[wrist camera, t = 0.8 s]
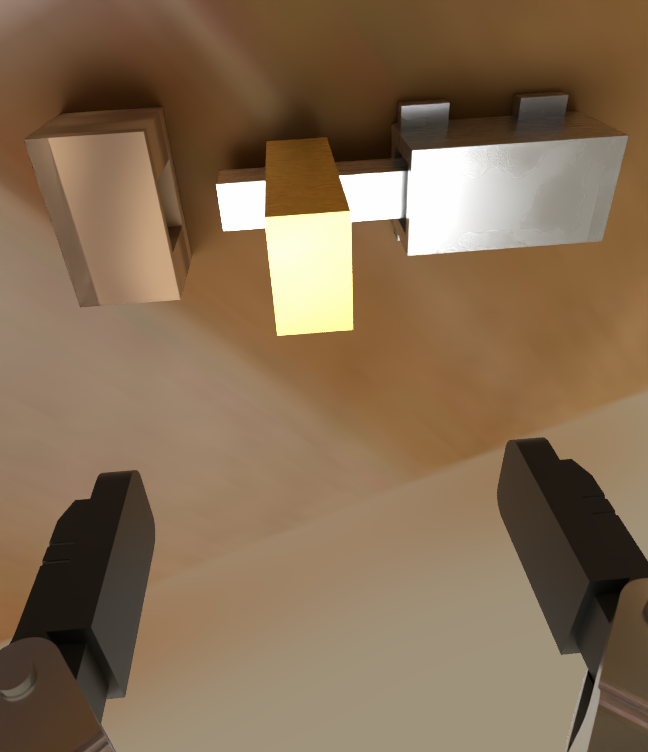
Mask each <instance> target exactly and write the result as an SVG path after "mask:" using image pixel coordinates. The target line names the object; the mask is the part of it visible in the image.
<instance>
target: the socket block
mask: <svg viewBox="0 0 648 752" xmlns="http://www.w3.org/2000/svg"><path fill="white" fill-rule="evenodd" d="M24 142H25V145H26V148H27V151H28V154H29V157H30V160H31V163H32V166H33V169H34V172H35V175H36V178H37V181H38V184H39V187H40V190H41V193H42V196H43V199H44V202H45V205H46V208H47V211H48V214H49V217H50V219H51V222H52V225H53V228H54V231H55V234H56V237H57V240H58V243H59V246H60V249H61V252H62V255H63V258H64V261H65V264H66V267H67V270H68V273H69V276H70V279H71V282H72V285H73V288H74V291H75V293H76V296H77V299H78V302H79V305H80V307H90V306H103V305H116V304H129V303H142V302H155V301H168V300H180V299H181V295H182V291H183V288H184V284H185V280H186V277H187V273H188V269H189V266H190V262H191V258H192V255H191V250H190V245H189V240H188V235H187V230H186V225H185V219H184V214H183V209H182V204H181V199H180V194H179V189H178V184H177V179H176V174H175V168H174V163H173V158H172V153H171V148H170V143H169V138H168V133H167V128H166V122H165V117H164V112H163V107H152V108H137V109H121V110H106V111H91V112H76V113H61V114H59V115H58V116H56V117H55V118H53V119H52V120H51V121H49V122H48V123H46V124H45V125H44V126H42V127H41V128H39V129H38V130H36V131H35V132H34V133H32V134H31V135H29V136H28V137H27V138H25V139H24Z"/></svg>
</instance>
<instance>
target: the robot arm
mask: <svg viewBox="0 0 648 752" xmlns="http://www.w3.org/2000/svg"><path fill="white" fill-rule="evenodd" d="M497 500H498V506H499V511H500V514H501V517H502V519H503V521H504V524H505V526H506V528H507V531H508V533H509V535H510V538H511V540H512V542H513V545H514V547H515V549H516V552H517V554H518V556H519V559H520V561H521V563H522V565H523V568H524V570H525V572H526V575H527V577H528V579H529V582H530V584H531V586H532V589H533V591H534V593H535V595H536V598H537V600H538V602H539V605H540V607H541V609H542V612H543V614H544V616H545V619H546V621H547V623H548V625H549V628H550V630H551V632H552V635H553V637H554V639H555V642H556V644H557V646H558V649H559V651H560V653H561V655H563V654H573V653H581V654H582V656H583V659H584V661H585V663H586V665H587V669H586V672H585V675H584V678H583V682H582V686H581V689H580V693H579V697H578V701H577V704H576V708H575V712H574V716H573V720H572V723H571V727H570V731H569V735H568V738H567V742H566V746H565V750H564V752H648V561H647V559H646V558H645V556H644V555H643V553H642V552H641V550H640V549H639V547H638V546H637V544H636V543H635V541H634V539H633V538H632V536H631V535H630V533H629V532H628V531H627V529H626V527H625V526H624V524H623V522H622V521H621V519H620V518H619V516H618V515H616V514H615V510H614V509H613V507H612V505H611V504H610V502H609V501H608V500H607V499H605V495H604V493H603V492H602V490H601V488H600V487H599V486H598V484H597V483H596V481H595V479H594V478H593V476H592V475H591V474H590V473H588V472H587V471H586V470H585V469H583V468H582V467H581V466H580V465H578V464H577V463H576V462H575V461H573V460H572V459H567V460H560V459H559V458H558V456H557V455H556V453H555V451H554V449H553V448H552V446H551V445H550V443H549V441H548V440H547V439H545V438H543V437H542V438H530V439H518V440H509V441H508V443H507V445H506V448H505V453H504V458H503V463H502V468H501V474H500V479H499V484H498V489H497ZM49 544H50V546H49V547H47V550H46V553H45V555H44V558H43V561H42V562H43V565H42V566H40V569H39V571H38V574H37V576H36V579H35V582H34V584H33V587H32V590H31V592H30V595H29V598H28V600H27V603H26V606H25V608H24V611H23V613H22V616H21V619H20V621H19V624H18V627H17V629H16V632H15V634H14V637H13V639H12V641H11V642H10V644H9V645H7V646H5V647H4V648H2V649H1V650H0V752H116V751H115V749H114V747H113V745H112V743H111V742H110V740H109V738H108V736H107V734H106V733H105V731H104V729H103V727H102V725H101V721H102V716H103V711H104V706H105V702H106V699H113V698H122V697H125V695H126V689H127V684H128V679H129V674H130V669H131V663H132V658H133V653H134V648H135V643H136V638H137V633H138V627H139V622H140V617H141V612H142V606H143V602H144V596H145V591H146V586H147V581H148V576H149V571H150V566H151V560H152V555H153V550H154V544H155V524H154V518H153V515H152V511H151V508H150V505H149V502H148V498H147V495H146V492H145V489H144V485H143V482H142V479H141V476H140V474H139V472H138V471H137V470H132V471H120V472H108V473H101V474H100V475H99V476H98V478H97V480H96V483H95V486H94V489H93V492H92V495H91V498H90V499H84V500H75V501H74V502H73V503H72V505H71V506H70V507H69V508H68V509H67V510H66V511H65V513H64V514H63V515H62V516H61V517H60V518H59V520H58V521H57V524H56V526H55V529H54V532H53V534H52V537H51V540H50V542H49Z"/></svg>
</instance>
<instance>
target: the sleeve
mask: <svg viewBox="0 0 648 752" xmlns="http://www.w3.org/2000/svg"><path fill="white" fill-rule="evenodd" d="M568 96H569V95H568V94H565V93H563V92H561V91H558V92H543V93H528V94H514V101H513V108H512V115H511V116H496V117H481V118H466V119H452V120H448V119H449V106H450V103H449V102H448V101H447V100H445V99H438V100H423V101H408V102H398V122H397V123H392V134H391V158H404V159H405V160H406V162H407V163H408V187H407V213H406V218H395V219H391V221H392V223H393V225H394V227H395V236H396V238H397V240H401V242H402V244H403V247H404V249H405V251H406V253H407V255H408V256H410V255H423V254H436V253H449V252H463V251H476V250H489V249H502V248H516V247H529V246H542V245H555V244H569V243H582V242H595V241H602V239H603V235H604V231H605V227H606V223H607V219H608V215H609V211H610V207H611V203H612V199H613V195H614V191H615V187H616V183H617V179H618V175H619V171H620V167H621V163H622V159H623V155H624V151H625V147H626V143H627V139H628V135H626V134H624V133H622V132H620V131H618V130H616V129H614V128H612V127H610V126H608V125H605V124H603V123H601V122H599V121H597V120H595V119H593V118H591V117H589V116H587V115H585V114H582V113H580V112H578V111H570V112H566V106H567V101H568Z"/></svg>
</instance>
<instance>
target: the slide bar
mask: <svg viewBox="0 0 648 752" xmlns="http://www.w3.org/2000/svg"><path fill="white" fill-rule="evenodd" d="M216 187H217V193H218V200H219V206H220V213H221V219H222V225H223V231H231V230H244V229H258V228H266V236H267V245H268V254H269V263H270V272H271V281H272V290H273V299H274V308H275V317H276V326H277V335H291V334H303V333H316V332H329V331H341V330H353V300H352V249H351V222H354V221H367V220H381V219H395V218H406V213H407V187H408V163H407V162H406V160H405V159H404V158H390V159H376V160H362V161H347V162H335V161H334V158H333V155H332V152H331V149H330V145H329V142H328V139H327V137H323V138H308V139H294V140H279V141H266V167H261V168H247V169H232V170H220V171H219V175H218V179H217V183H216Z"/></svg>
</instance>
